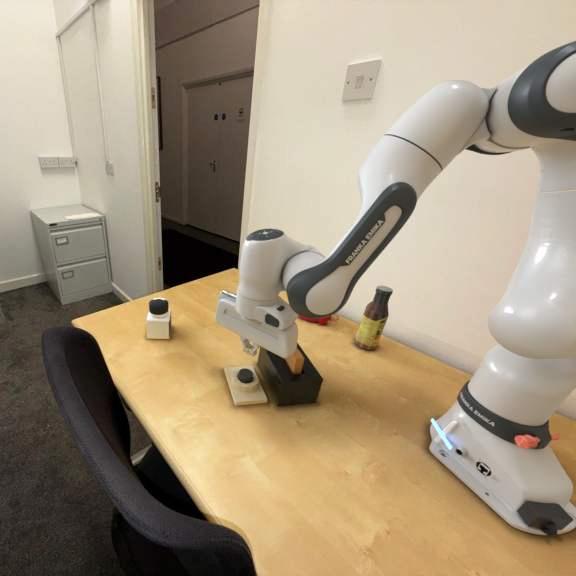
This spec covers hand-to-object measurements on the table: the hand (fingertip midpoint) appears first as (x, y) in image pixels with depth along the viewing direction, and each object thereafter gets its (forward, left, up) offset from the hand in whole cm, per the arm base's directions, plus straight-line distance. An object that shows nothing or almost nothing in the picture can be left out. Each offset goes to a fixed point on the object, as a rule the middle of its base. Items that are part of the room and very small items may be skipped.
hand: (249, 352), depth 71 cm
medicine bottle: (+26, +21, -12) cm, 35 cm away
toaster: (+1, -11, -12) cm, 16 cm away
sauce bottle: (+13, -43, -12) cm, 46 cm away
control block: (+1, 0, -12) cm, 12 cm away
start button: (+1, 0, -9) cm, 9 cm away
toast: (+1, -11, -10) cm, 15 cm away
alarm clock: (+30, -35, -12) cm, 48 cm away
